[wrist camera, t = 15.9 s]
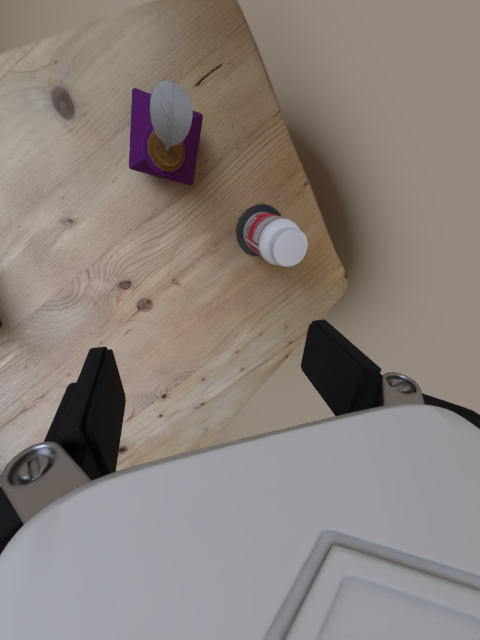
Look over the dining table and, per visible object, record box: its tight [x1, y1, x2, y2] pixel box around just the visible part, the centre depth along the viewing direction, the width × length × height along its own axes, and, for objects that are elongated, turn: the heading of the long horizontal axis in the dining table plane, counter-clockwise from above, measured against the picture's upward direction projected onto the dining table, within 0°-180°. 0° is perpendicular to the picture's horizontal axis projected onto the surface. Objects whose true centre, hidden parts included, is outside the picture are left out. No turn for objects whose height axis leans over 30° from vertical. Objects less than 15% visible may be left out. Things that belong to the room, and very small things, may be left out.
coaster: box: [236, 204, 281, 256], centre depth 40 cm, size 8×8×1 cm
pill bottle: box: [243, 212, 308, 267], centre depth 35 cm, size 6×6×11 cm
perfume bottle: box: [129, 80, 203, 186], centre depth 24 cm, size 8×8×18 cm
